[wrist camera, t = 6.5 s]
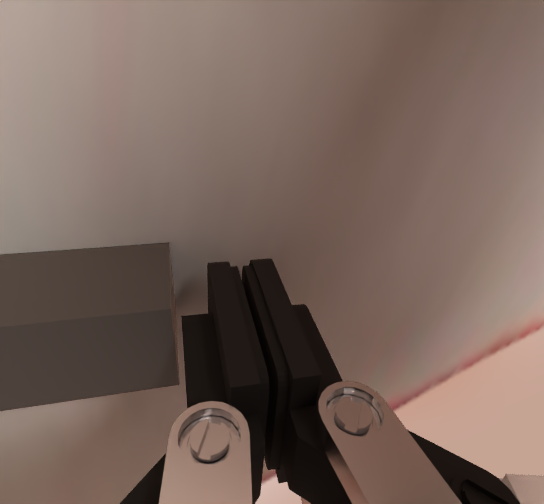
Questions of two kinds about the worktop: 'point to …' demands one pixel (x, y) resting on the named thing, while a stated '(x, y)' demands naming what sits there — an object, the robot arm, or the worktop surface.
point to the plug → (86, 324)
